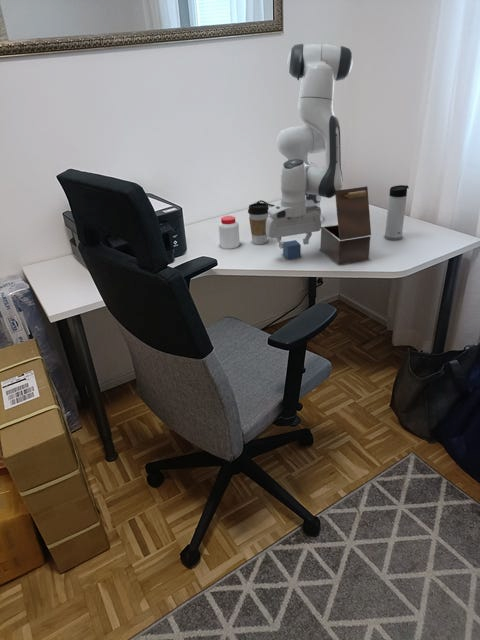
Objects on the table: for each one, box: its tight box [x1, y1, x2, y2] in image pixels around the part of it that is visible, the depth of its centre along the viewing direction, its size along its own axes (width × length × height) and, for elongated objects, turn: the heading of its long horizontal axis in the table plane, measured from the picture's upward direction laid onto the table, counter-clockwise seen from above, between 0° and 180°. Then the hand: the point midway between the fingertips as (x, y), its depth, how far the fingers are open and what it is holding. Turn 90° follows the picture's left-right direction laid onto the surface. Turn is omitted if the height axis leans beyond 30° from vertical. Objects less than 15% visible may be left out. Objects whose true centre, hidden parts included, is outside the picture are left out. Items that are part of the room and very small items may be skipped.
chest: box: [320, 224, 371, 266], centre depth 177 cm, size 16×12×9 cm
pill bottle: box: [218, 215, 241, 250], centre depth 191 cm, size 8×8×11 cm
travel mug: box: [384, 184, 409, 241], centre depth 186 cm, size 6×7×20 cm
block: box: [282, 239, 302, 260], centre depth 180 cm, size 5×5×5 cm
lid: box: [334, 185, 372, 240], centre depth 165 cm, size 16×12×5 cm
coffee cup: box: [247, 202, 270, 245], centre depth 191 cm, size 8×8×15 cm
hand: (293, 245), depth 178 cm, fingers open, 8 cm apart
